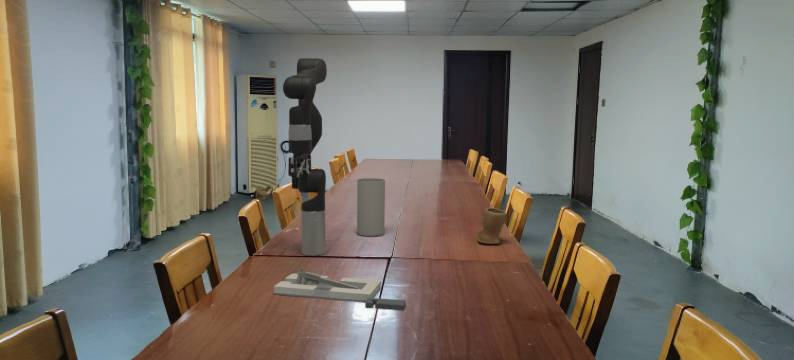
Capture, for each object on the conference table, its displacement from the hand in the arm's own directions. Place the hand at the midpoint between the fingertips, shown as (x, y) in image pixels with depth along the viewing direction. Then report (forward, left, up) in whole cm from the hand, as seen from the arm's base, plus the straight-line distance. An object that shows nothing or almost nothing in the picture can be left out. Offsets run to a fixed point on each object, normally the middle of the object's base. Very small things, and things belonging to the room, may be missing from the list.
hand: (300, 187), depth 184 cm
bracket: (+23, +35, -31) cm, 52 cm away
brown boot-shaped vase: (-66, +61, -30) cm, 95 cm away
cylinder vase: (-67, +7, -30) cm, 74 cm away
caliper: (+14, +15, -30) cm, 36 cm away
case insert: (+14, +15, -30) cm, 37 cm away
